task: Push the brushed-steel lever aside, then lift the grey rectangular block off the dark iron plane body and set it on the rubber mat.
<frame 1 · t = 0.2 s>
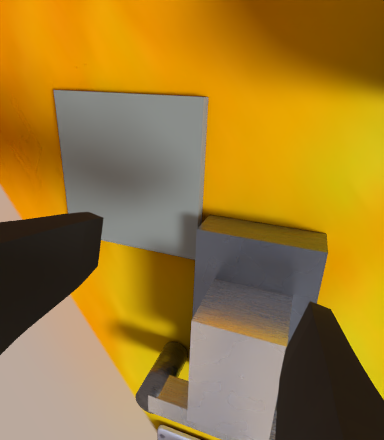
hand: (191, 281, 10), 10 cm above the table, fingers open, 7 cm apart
rubber mat: (132, 173, 21), on the table
plane body: (253, 311, 22), on the table
steel lever: (275, 413, 21), point 3 cm above the table, hinge at 0.0°
grey rectangular block: (246, 335, 20), point 2 cm above the table, touching plane body
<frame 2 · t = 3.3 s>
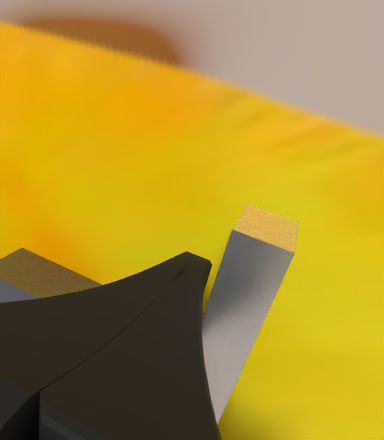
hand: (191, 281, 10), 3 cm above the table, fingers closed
plane body: (113, 342, 18), on the table
steel lever: (200, 399, 13), point 3 cm above the table, hinge at -0.3°, touching gripper
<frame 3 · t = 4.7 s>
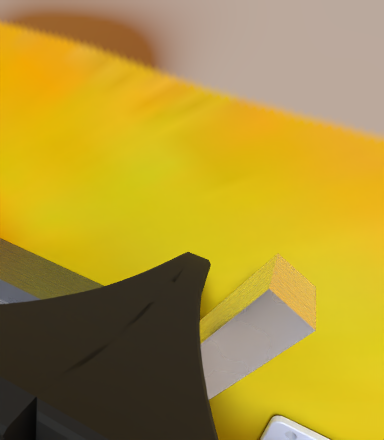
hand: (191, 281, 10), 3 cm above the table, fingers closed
plane body: (35, 303, 19), on the table
steel lever: (148, 384, 14), point 3 cm above the table, hinge at -23.7°, touching gripper
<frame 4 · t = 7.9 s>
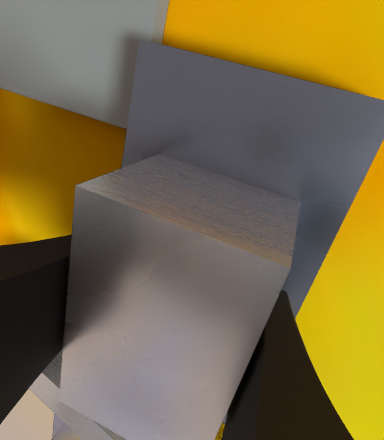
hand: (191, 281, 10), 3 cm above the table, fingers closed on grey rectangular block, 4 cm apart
plane body: (218, 241, 13), on the table
grey rectangular block: (198, 270, 11), point 2 cm above the table, touching gripper, plane body
when the fingers open (3 cm above the table, at t = 12.8 s): grey rectangular block drops 1 cm, resting on rubber mat.
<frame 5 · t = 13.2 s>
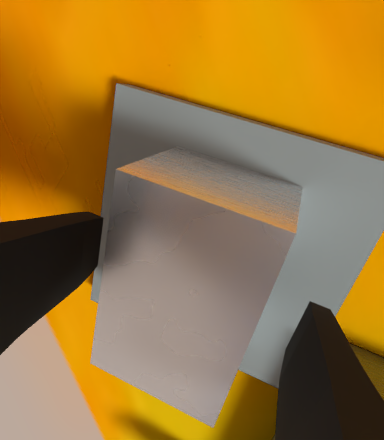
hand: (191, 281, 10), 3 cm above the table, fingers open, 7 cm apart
rubber mat: (216, 243, 13), on the table
grey rectangular block: (211, 251, 12), point 1 cm above the table, touching rubber mat
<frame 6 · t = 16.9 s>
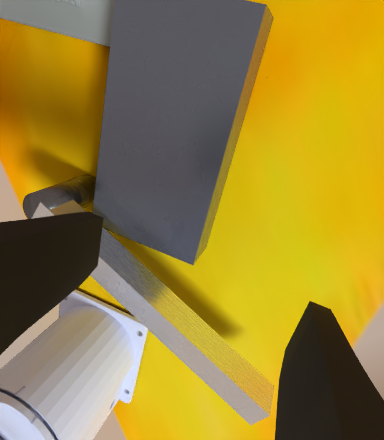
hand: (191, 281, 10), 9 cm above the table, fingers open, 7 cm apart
plane body: (178, 132, 19), on the table
steel lever: (158, 285, 20), point 3 cm above the table, hinge at -24.5°
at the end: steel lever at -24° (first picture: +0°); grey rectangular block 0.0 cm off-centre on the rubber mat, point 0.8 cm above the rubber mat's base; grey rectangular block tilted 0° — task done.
